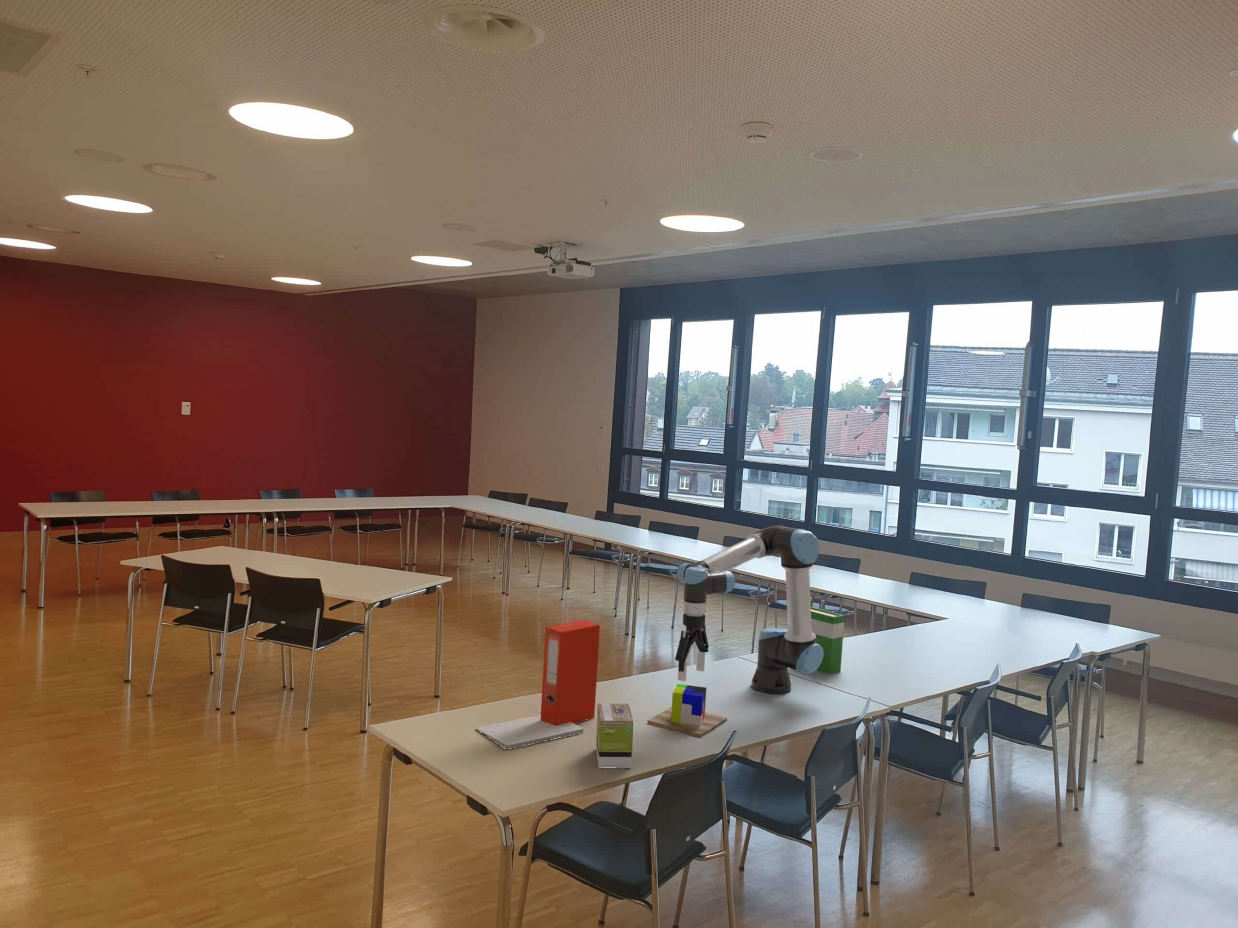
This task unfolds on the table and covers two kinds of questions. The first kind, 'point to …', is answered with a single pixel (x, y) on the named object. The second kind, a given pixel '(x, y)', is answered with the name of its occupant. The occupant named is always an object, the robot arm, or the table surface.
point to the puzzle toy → (688, 704)
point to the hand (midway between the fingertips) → (691, 675)
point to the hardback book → (828, 638)
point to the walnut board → (707, 724)
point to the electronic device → (527, 731)
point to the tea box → (614, 735)
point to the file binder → (570, 672)
